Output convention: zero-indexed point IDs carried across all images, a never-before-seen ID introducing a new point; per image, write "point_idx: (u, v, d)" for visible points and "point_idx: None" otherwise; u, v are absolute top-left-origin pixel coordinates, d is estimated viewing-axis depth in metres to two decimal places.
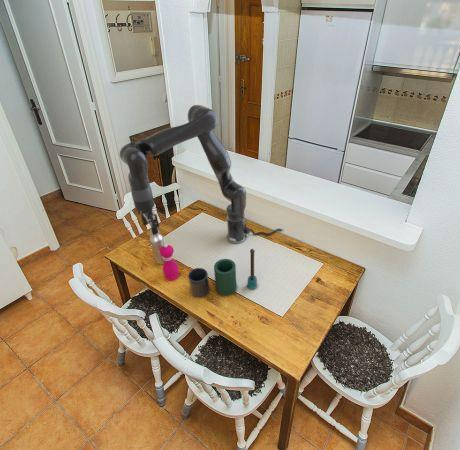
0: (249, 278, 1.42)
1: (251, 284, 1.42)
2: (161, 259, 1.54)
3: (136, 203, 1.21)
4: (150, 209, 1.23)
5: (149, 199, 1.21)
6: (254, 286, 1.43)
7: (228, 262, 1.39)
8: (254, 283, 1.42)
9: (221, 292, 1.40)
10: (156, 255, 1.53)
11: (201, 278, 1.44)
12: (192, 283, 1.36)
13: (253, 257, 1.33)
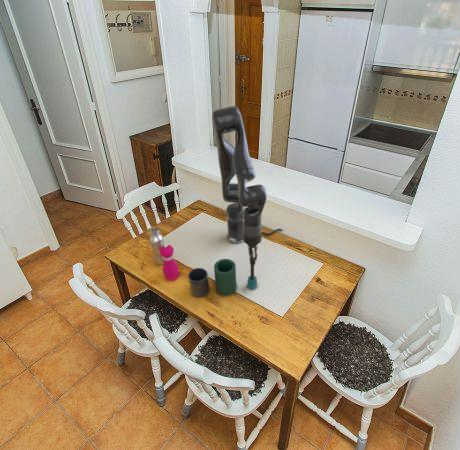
0: (249, 278, 1.42)
1: (251, 284, 1.42)
2: (161, 259, 1.54)
3: (244, 236, 1.25)
4: (254, 245, 1.26)
5: (256, 236, 1.23)
6: (254, 286, 1.43)
7: (228, 262, 1.39)
8: (254, 283, 1.42)
9: (221, 292, 1.40)
10: (156, 255, 1.53)
11: (201, 278, 1.44)
12: (192, 283, 1.36)
13: None
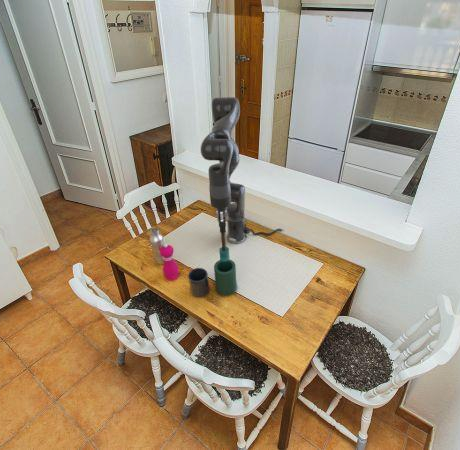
0: (221, 249, 1.30)
1: (223, 255, 1.30)
2: (161, 259, 1.54)
3: (210, 198, 1.13)
4: (222, 208, 1.14)
5: (223, 198, 1.11)
6: (226, 258, 1.31)
7: (228, 262, 1.39)
8: (226, 254, 1.30)
9: (221, 292, 1.40)
10: (156, 255, 1.53)
11: (201, 278, 1.44)
12: (192, 283, 1.36)
13: None
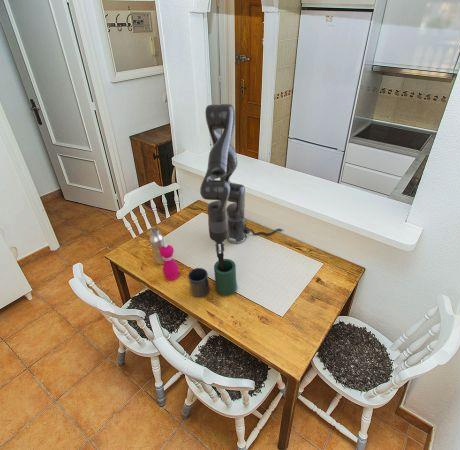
0: None
1: None
2: (161, 259, 1.54)
3: (209, 231, 1.22)
4: (220, 241, 1.23)
5: (221, 232, 1.20)
6: None
7: (228, 262, 1.39)
8: None
9: (221, 292, 1.40)
10: (156, 255, 1.53)
11: (201, 278, 1.44)
12: (192, 283, 1.36)
13: None
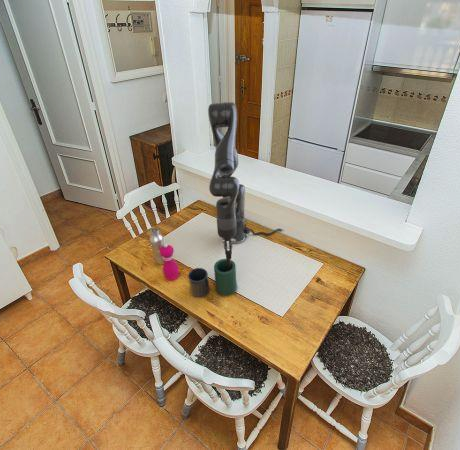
0: None
1: None
2: (161, 259, 1.54)
3: (217, 228, 1.22)
4: (228, 238, 1.22)
5: (229, 229, 1.20)
6: None
7: None
8: None
9: (221, 292, 1.40)
10: (156, 255, 1.53)
11: (201, 278, 1.44)
12: (192, 283, 1.36)
13: None
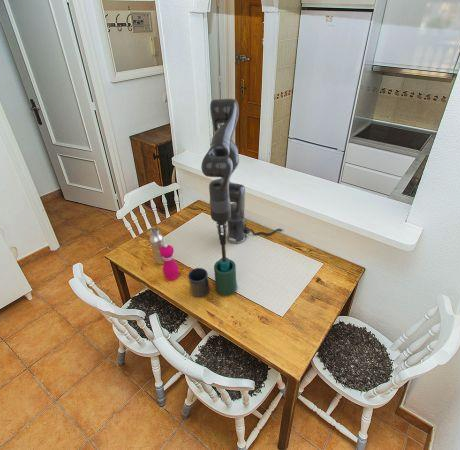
0: (221, 260, 1.34)
1: (223, 266, 1.33)
2: (161, 259, 1.54)
3: (211, 212, 1.17)
4: (222, 222, 1.17)
5: (223, 212, 1.15)
6: (226, 268, 1.35)
7: None
8: (226, 265, 1.33)
9: (221, 292, 1.40)
10: (156, 255, 1.53)
11: (201, 278, 1.44)
12: (192, 283, 1.36)
13: None
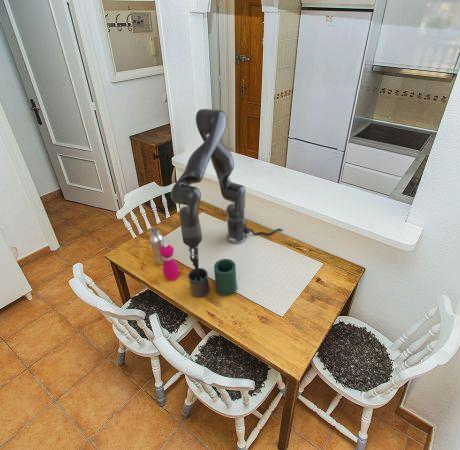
0: (195, 279, 1.40)
1: None
2: (161, 259, 1.54)
3: (182, 236, 1.23)
4: (193, 246, 1.23)
5: (193, 237, 1.20)
6: None
7: (228, 262, 1.39)
8: None
9: (221, 292, 1.40)
10: (156, 255, 1.53)
11: None
12: (192, 283, 1.36)
13: None
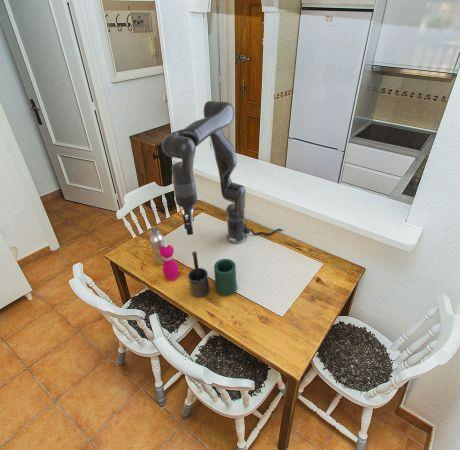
0: None
1: None
2: (161, 259, 1.54)
3: (175, 196, 1.12)
4: (187, 207, 1.12)
5: (187, 196, 1.09)
6: None
7: (228, 262, 1.39)
8: None
9: (221, 292, 1.40)
10: (156, 255, 1.53)
11: (201, 278, 1.44)
12: (192, 283, 1.36)
13: (196, 260, 1.31)
